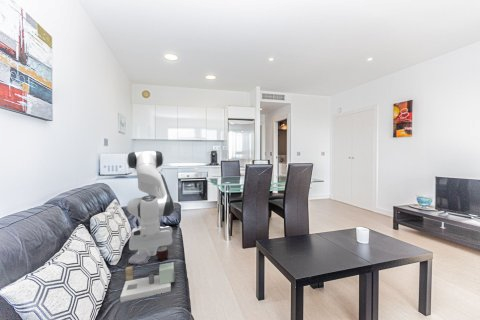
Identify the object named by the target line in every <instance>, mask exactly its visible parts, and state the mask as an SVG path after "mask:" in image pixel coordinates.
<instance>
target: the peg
mask: <svg viewBox="0 0 480 320" xmlns="http://www.w3.org/2000/svg"><path fill="white" fill-rule="evenodd" d="M124 271H125V282H126V281H130V280H134V268H133V265H131V266H126V268H125V270H124Z"/></svg>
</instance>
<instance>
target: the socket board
mask: <svg viewBox="0 0 480 320" xmlns="http://www.w3.org/2000/svg"><path fill="white" fill-rule="evenodd" d="M171 284H172V282H170V283H165V284H160V278H159V274H158V275H155V274H154V273H150V274H149V275H148V276H147V277H142V278H136V279H133V280H130V281H126V280H125V282H124V285H123V288H122V291H121V293H120V297H119V299H120V303H125V302H129V301H133V300H138V299H142V298H147V297H151V296H157V295H160V294H161V293H162V294H166V293H170V292H171V291H172V290H171V289H172V285H171ZM156 294H157V295H156Z"/></svg>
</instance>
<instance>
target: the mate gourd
mask: <svg viewBox="0 0 480 320" xmlns="http://www.w3.org/2000/svg"><path fill="white" fill-rule="evenodd" d="M156 253H157V255H156V256H157V261H160V263H161V262H163V261H162V260H163V259H166V260H169V259H168V256H169V250H168V247H167V245H164V246H158V248H157V251H156Z"/></svg>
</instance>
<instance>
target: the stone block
mask: <svg viewBox="0 0 480 320" xmlns="http://www.w3.org/2000/svg"><path fill="white" fill-rule="evenodd" d="M149 259H151V256H149V253H143V254H136V253H134V254H133V255H132V256H130V257H129V259H128V264H129V263H130V264H129V265H136V264H137V265H146V264H148V262H149V261H150V260H149ZM148 260H149V261H148Z"/></svg>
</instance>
